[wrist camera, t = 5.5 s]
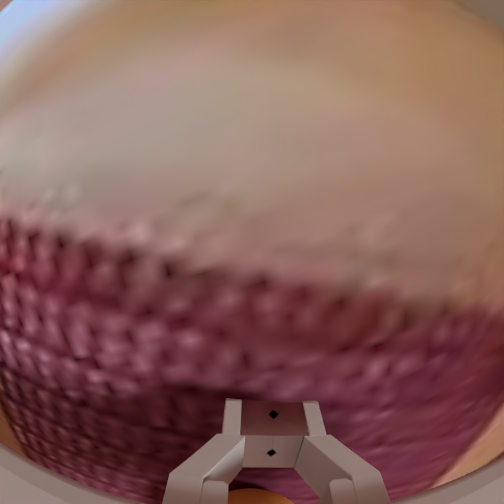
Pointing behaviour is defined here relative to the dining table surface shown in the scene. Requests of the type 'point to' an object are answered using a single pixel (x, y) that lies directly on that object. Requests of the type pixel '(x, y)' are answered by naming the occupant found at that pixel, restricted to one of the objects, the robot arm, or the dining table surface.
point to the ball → (256, 497)
